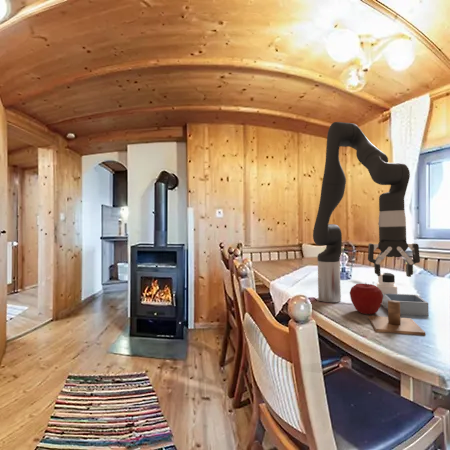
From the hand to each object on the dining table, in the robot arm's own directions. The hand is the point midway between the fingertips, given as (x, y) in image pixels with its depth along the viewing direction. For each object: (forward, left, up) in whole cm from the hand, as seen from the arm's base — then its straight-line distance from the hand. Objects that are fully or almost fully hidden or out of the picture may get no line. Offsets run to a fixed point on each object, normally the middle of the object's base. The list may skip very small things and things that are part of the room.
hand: (393, 276), depth 93 cm
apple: (-6, +13, -17) cm, 22 cm away
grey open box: (+8, +20, -17) cm, 27 cm away
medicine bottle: (+5, +33, -17) cm, 37 cm away
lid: (0, 0, -16) cm, 16 cm away
